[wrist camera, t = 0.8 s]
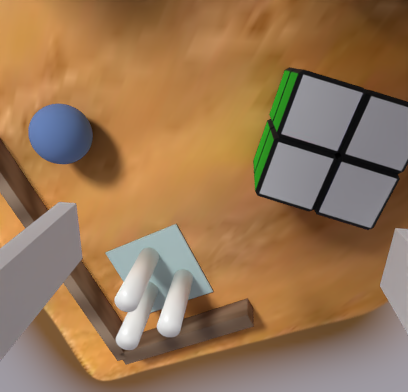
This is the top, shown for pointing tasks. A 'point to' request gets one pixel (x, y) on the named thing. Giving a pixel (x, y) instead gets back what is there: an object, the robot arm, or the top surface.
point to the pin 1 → (137, 320)
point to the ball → (60, 134)
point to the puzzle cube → (332, 148)
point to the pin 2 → (175, 304)
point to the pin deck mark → (162, 262)
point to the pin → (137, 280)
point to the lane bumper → (95, 300)
